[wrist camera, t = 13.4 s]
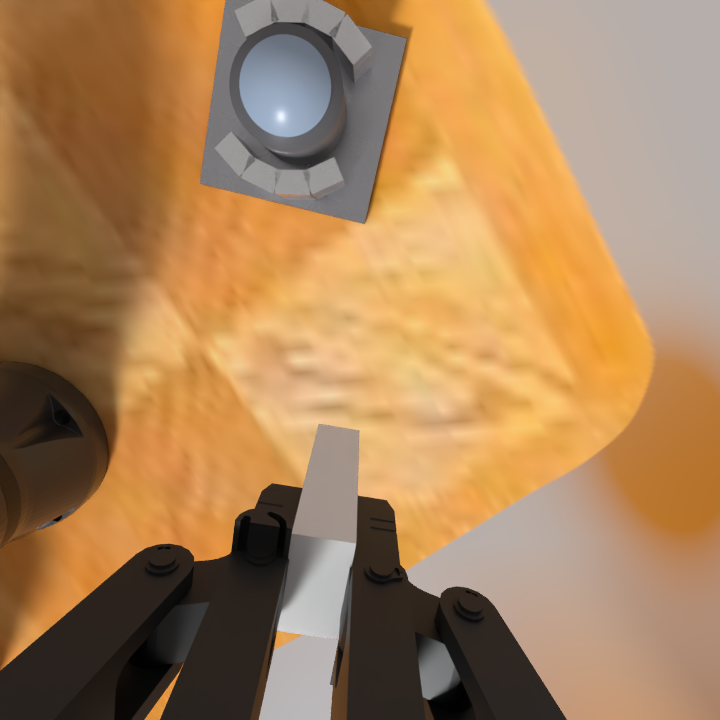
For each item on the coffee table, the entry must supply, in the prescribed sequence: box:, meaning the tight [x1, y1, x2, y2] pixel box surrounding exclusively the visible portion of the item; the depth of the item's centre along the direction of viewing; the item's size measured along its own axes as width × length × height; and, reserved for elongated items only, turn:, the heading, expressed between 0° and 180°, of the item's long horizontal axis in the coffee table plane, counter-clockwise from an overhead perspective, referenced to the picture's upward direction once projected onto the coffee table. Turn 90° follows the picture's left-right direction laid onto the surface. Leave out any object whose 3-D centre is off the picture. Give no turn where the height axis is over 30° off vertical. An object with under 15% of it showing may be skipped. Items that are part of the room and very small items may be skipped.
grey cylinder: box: [229, 23, 347, 164], centre depth 32 cm, size 7×7×6 cm
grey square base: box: [200, 0, 407, 224], centre depth 33 cm, size 13×13×5 cm
